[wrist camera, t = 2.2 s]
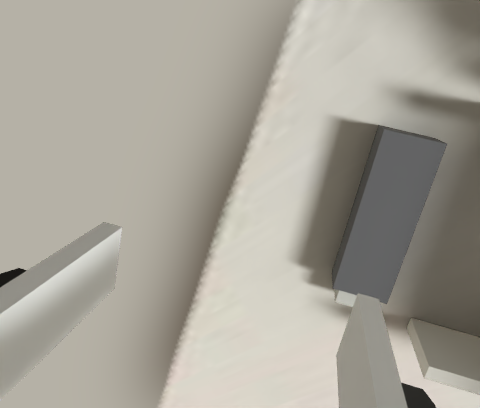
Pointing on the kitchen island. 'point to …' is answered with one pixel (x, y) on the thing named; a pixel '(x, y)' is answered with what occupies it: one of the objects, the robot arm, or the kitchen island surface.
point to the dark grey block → (385, 213)
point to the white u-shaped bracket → (446, 355)
